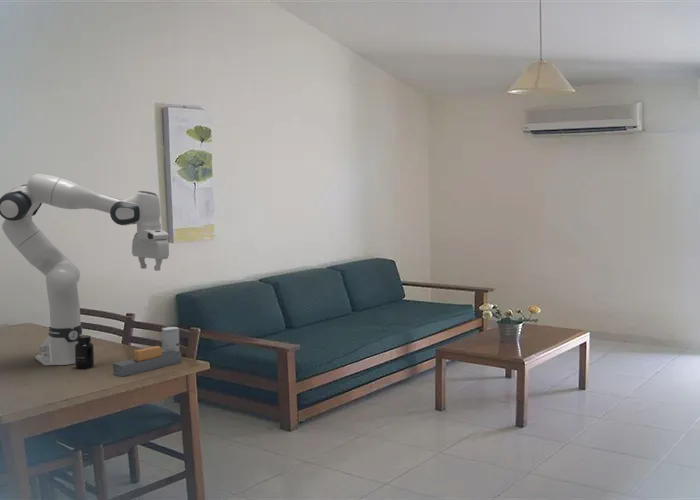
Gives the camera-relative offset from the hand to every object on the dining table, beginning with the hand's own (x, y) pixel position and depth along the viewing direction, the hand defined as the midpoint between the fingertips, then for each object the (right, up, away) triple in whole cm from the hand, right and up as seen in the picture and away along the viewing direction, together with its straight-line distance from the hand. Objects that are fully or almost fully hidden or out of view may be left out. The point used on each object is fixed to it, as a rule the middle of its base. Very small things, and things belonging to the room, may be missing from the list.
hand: (150, 269), depth 275 cm
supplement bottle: (-25, -38, 0) cm, 45 cm away
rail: (0, -38, -2) cm, 38 cm away
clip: (0, -37, -2) cm, 37 cm away
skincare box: (+5, -36, +13) cm, 39 cm away
